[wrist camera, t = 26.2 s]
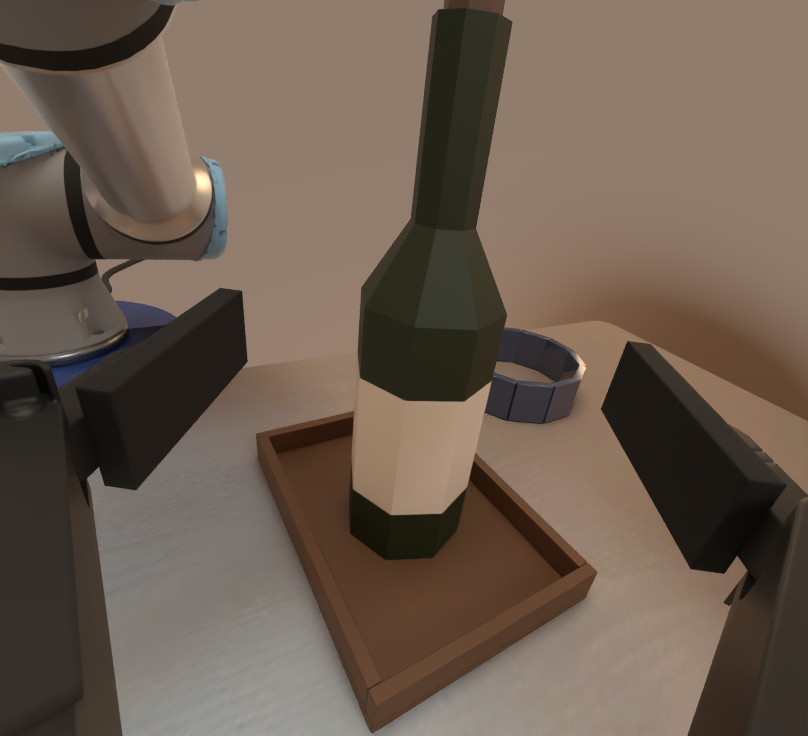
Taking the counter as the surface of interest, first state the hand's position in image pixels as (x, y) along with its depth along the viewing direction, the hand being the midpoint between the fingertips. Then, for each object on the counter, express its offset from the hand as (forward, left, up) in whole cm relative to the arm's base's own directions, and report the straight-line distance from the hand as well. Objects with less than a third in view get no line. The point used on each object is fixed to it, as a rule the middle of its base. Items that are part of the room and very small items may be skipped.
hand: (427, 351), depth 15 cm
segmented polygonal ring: (-20, +28, -19) cm, 39 cm away
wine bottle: (-8, +6, -18) cm, 21 cm away
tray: (-8, +6, -19) cm, 21 cm away
